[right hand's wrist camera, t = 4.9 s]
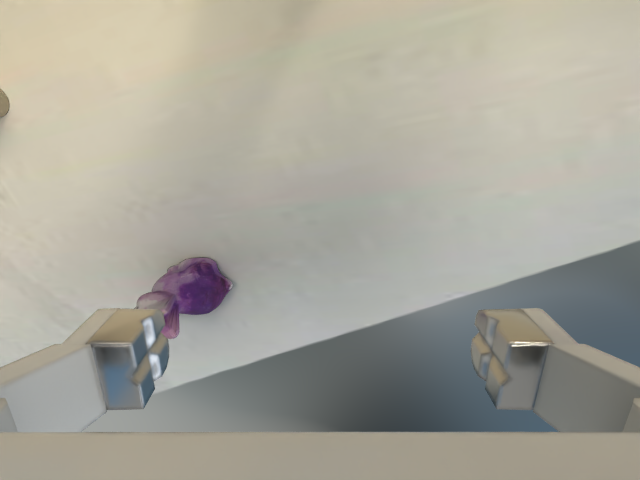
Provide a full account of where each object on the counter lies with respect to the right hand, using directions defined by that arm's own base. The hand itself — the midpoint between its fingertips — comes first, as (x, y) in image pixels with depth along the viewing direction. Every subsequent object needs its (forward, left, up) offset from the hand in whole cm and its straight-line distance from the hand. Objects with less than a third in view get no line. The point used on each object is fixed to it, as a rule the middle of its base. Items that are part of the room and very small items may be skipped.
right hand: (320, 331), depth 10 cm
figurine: (+22, -20, -48) cm, 57 cm away
